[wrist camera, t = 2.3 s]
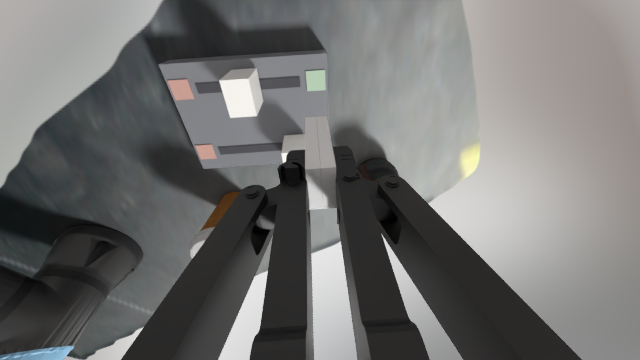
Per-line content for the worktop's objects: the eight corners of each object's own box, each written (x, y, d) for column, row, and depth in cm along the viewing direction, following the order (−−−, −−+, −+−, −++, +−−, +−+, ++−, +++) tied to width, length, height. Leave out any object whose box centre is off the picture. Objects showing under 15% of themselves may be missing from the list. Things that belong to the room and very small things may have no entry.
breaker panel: (209, 158, 39) (203, 169, 36) (170, 59, 30) (157, 64, 27) (328, 150, 39) (330, 160, 36) (325, 49, 30) (326, 53, 27)
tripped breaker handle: (240, 103, 30) (230, 118, 26) (231, 69, 28) (219, 80, 24) (263, 101, 30) (256, 116, 26) (256, 68, 28) (248, 78, 24)
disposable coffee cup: (202, 192, 43) (172, 245, 33) (249, 178, 42) (232, 230, 32) (229, 225, 49) (210, 278, 39) (270, 214, 47) (262, 267, 38)
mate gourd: (344, 173, 42) (353, 212, 34) (374, 143, 39) (392, 178, 31) (371, 191, 45) (386, 230, 37) (401, 164, 42) (425, 201, 34)
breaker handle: (287, 159, 36) (285, 178, 32) (284, 135, 33) (281, 153, 29) (307, 157, 36) (307, 177, 32) (305, 133, 33) (305, 151, 29)
